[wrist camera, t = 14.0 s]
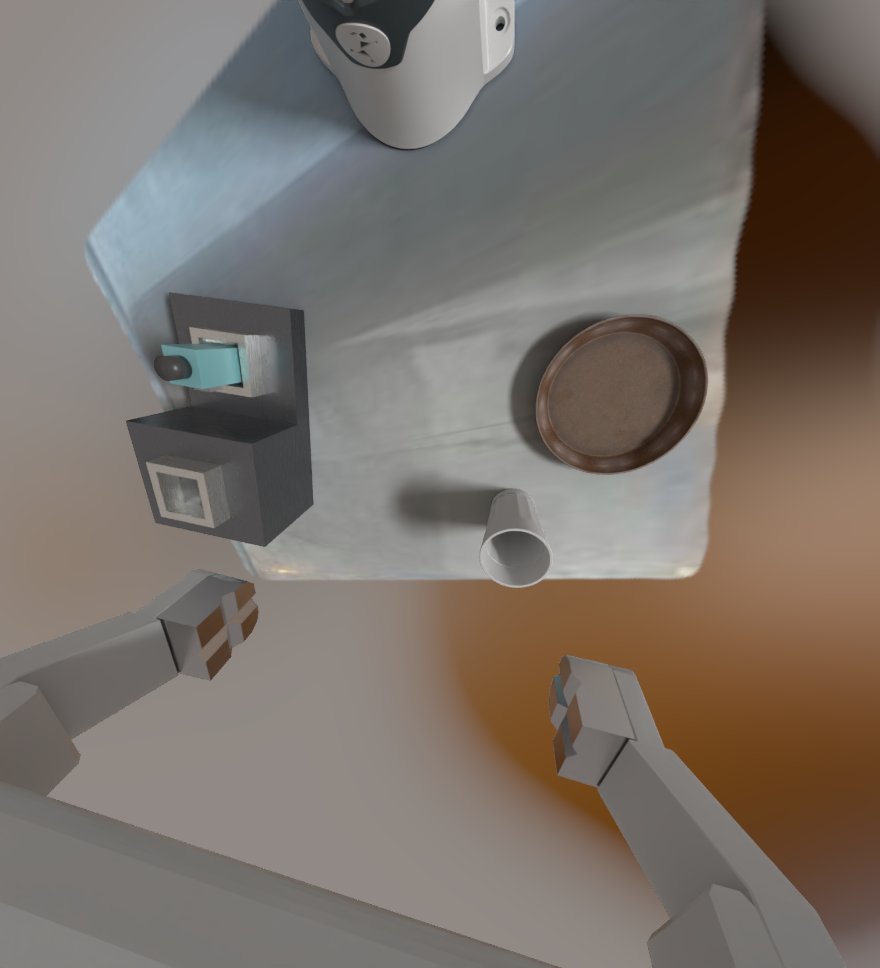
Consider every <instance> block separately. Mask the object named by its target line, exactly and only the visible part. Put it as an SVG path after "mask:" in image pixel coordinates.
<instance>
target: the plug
mask: <svg viewBox="0 0 880 968" xmlns="http://www.w3.org/2000/svg"><path fill="white" fill-rule="evenodd" d="M161 346H162V351H163V355H164V356H159V357H157V358H156V359H155V361H154V367H155V370H156V372H157V374H158V375H159V376H160V377H161V378H162V379H164V380H166V381H169V382H170V384H176V385H182V386H187V387H193V388H194V390H200V391H206V392H214V391H219V390H223V386H222V385H228V384H234V383H239V382H243V380H242V372H241V364H240V357H239V349H238V346H235V345H229V344H222V343H205V344H165V345H161Z"/></svg>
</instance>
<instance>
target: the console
mask: <svg viewBox="0 0 880 968" xmlns="http://www.w3.org/2000/svg"><path fill="white" fill-rule="evenodd" d="M169 296H170V301H171V306H172V311H173V316H174V321H175V326H176V331H177V336H178V341H179V344H205V343H222V344H229V345H235V346H238V349H239V357H240V364H241V372H242V380H243V382H239V383H234V384H228V385H222V386H223V390H219V391H214V392H206V391H200V390H194V388H193V387H188V391H189V396H190V400H191V405H192V406H190V407H186V408H181V409H177V410H172V411H168V412H163V413H159V414H154V415H150V416H146V417H141V418H137V419H132V420H128V421H126V423H127V426H128V430H129V434H130V436H131V440H132V444H133V447H134V451H135V454H136V458H137V461H138V464H139V468H140V471H141V475H142V478H143V481H144V485H145V488H146V492H147V495H148V499H149V502H150V505H151V509H152V512H153V516H154V519H155V523H159V524H163V525H168V526H173V527H177V528H182V529H186V530H191V531H196V532H200V533H204V534H209V535H213V536H218V537H222V538H227V539H231V540H236V541H241V542H245V543H250V544H254V545H259V546H263V547H265V546H267V545H268V544H269V543H270V542H271V541H272V540H273V539H275V538H276V537H277V536H278V535H279V534H280V533H281V532H282V531H284V530H285V529H286V528H287V527H288V526H289V525H290V524H292V523H293V522H294V521H295V520H296V519H297V518H298V517H299V516H301V515H302V514H303V513H304V512H305V511H306V510H307V509H309V508H310V507H311V506H312V505H313V489H312V469H311V449H310V428H309V408H308V388H307V368H306V347H305V327H304V311H303V310H296V309H288V308H281V307H273V306H266V305H259V304H251V303H244V302H236V301H229V300H222V299H214V298H207V297H199V296H192V295H184V294H177V293H169Z"/></svg>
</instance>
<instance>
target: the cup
mask: <svg viewBox="0 0 880 968" xmlns="http://www.w3.org/2000/svg"><path fill="white" fill-rule="evenodd" d="M552 563H553V555H552V551H551V548H550V546H549V543H548V541H547V538H546V535H545V533H544V531H543V529H542V526H541V523H540V521H539V518H538V515H537V512H536V507H535V503H534V500H533V499H532V497H531V496H530V495H529V494H528V493H526V492H524V491H522V490H519V489H507V490H504V491H502V492H500V493H498V494H497V495H496V496H495V497H494V499H493V500H492V503H491V509H490V515H489V519H488V523H487V527H486V532H485V535H484V539H483V542H482V546H481V550H480V564H481V566H482V569H483V570H484V572H485V573H486V574H487V575H488V576H489V577H490V578H491V579H492V580H494V581H495V582H497V583H499V584H502V585H504V586H508V587H527V586H531V585H534V584H536V583H538V582H539V581H541V580H542V579H543V578H545V577H546V575H547V574H548V573H549V571H550V569H551V567H552Z"/></svg>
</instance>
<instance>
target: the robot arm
mask: <svg viewBox="0 0 880 968" xmlns="http://www.w3.org/2000/svg"><path fill="white" fill-rule="evenodd" d="M298 2H299V4H300V6H301V8H302V10H303V12H304V14H305V16H306V18H307V20H308V22H309V24H310V26H311V28H310V37H311V42H312V45H313V47H314V49H315V51H316V53H317V55H318V57H319V58H320V60H321V61H322V62H323V63H324V65H325V66H326V67H327V68H328V69H329V70H330V71H331V72H332V73H333V74H334V75H335V76H336V77H337V78H338V80H339V82H340V84H341V86H342V88H343V90H344V92H345V95H346V97H347V99H348V102H349V104H350V106H351V108H352V110H353V112H354V113H355V115H356V116H357V118H358V119H359V121H360V122H361V123H362V125H363V126H364V127H365V128H366V129H367V130H368V131H369V132H370V133H371V134H372V135H373V136H374V137H376V138H377V139H378V140H380V141H382V142H383V143H385V144H388V145H390V146H393V147H397V148H402V149H415V148H421V147H424V146H427V145H430V144H432V143H434V142H436V141H438V140H439V139H441V138H442V137H444V136H445V135H446V134H447V133H449V132H450V131H451V130H452V129H453V128H454V127H455V126H456V125H457V124H458V122H459V121H460V120H461V119H462V117H463V116H464V115H465V113H466V112H467V110H468V109H469V107H470V105H471V104H472V102H473V100H474V99H475V97H476V95H477V94H478V93H479V91H480V90H481V88H482V87H483V86H484V85H485V84H486V83H488V82H489V81H490V80H492V79H493V78H494V77H495V76H497V75H498V74H499V73H500V72H501V71H503V69H504V68H505V67H506V66H507V65H508V64H509V62H510V61H511V59H512V56H513V53H514V47H515V0H298ZM500 23H502V24H504V28H503V30H501V31H497V30H496V27H497V25H498V24H500ZM255 593H256V592H255V588H254V584H253V583H251V582H247V581H244V580H240V579H236V578H233V577H229V576H225V575H221V574H217V573H213V572H209V571H205V570H201V569H198V570H195V571H191V572H190V573H189V574H187V575H186V576H185V577H183V578H182V579H181V580H179V581H178V582H176V583H175V584H174V585H173V586H171V587H170V588H168V589H167V590H166V591H164V592H163V593H162V594H160V595H159V596H158V597H156V598H155V599H154V600H152V601H151V602H150V603H148V604H147V605H146V606H144V607H143V608H142V609H140V610H139V611H137V612H136V613H132V612H128V613H125V614H123V615H120V616H117V617H114V618H111V619H109V620H106V621H103V622H100V623H97V624H95V625H92V626H89V627H86V628H84V629H81V630H78V631H75V632H72V633H70V634H67V635H64V636H62V637H58V638H56V639H53V640H50V641H47V642H44V643H42V644H39V645H36V646H33V647H31V648H28V649H25V650H23V651H20V652H17V653H14V654H11V655H8V656H5V657H3V658H0V968H561V967H558V966H554V965H552V964H549V963H546V962H542V961H539V960H537V959H534V958H531V957H528V956H525V955H521V954H519V953H516V952H513V951H509V950H506V949H504V948H500V947H497V946H495V945H492V944H488V943H486V942H483V941H479V940H476V939H474V938H471V937H468V936H464V935H462V934H459V933H456V932H453V931H449V930H446V929H443V928H441V927H438V926H435V925H432V924H429V923H426V922H422V921H420V920H416V919H413V918H411V917H407V916H404V915H401V914H398V913H395V912H393V911H390V910H387V909H384V908H380V907H377V906H375V905H372V904H369V903H366V902H363V901H360V900H357V899H354V898H350V897H347V896H344V895H341V894H338V893H335V892H332V891H329V890H326V889H323V888H320V887H317V886H314V885H311V884H308V883H305V882H302V881H299V880H296V879H293V878H290V877H287V876H284V875H281V874H278V873H275V872H272V871H269V870H266V869H263V868H260V867H257V866H254V865H251V864H248V863H245V862H242V861H239V860H236V859H233V858H230V857H227V856H224V855H221V854H218V853H215V852H212V851H209V850H206V849H203V848H200V847H197V846H194V845H191V844H188V843H185V842H182V841H179V840H176V839H173V838H170V837H167V836H164V835H161V834H158V833H155V832H152V831H149V830H146V829H143V828H140V827H137V826H134V825H131V824H128V823H125V822H122V821H119V820H116V819H113V818H110V817H107V816H104V815H101V814H98V813H95V812H92V811H89V810H86V809H83V808H80V807H77V806H74V805H71V804H68V803H65V802H62V801H59V800H56V799H53V798H50V797H47V795H48V794H49V793H50V792H51V791H52V790H53V789H54V788H55V787H56V786H57V785H58V784H59V783H60V781H62V779H64V778H65V777H66V775H67V774H68V773H69V772H70V771H71V770H72V769H73V768H74V767H75V766H76V765H77V764H78V763H79V760H80V756H81V755H80V753H79V752H78V750H77V749H76V747H75V745H74V744H73V742H72V739H73V738H75V737H76V736H78V735H80V734H82V733H83V732H85V731H86V730H88V729H90V728H91V727H93V726H95V725H97V724H98V723H100V722H102V721H103V720H105V719H106V718H108V717H110V716H112V715H113V714H115V713H117V712H118V711H120V710H121V709H123V708H125V707H126V706H128V705H130V704H131V703H133V702H135V701H136V700H138V699H140V698H141V697H143V696H145V695H146V694H148V693H150V692H151V691H153V690H155V689H156V688H158V687H159V686H161V685H163V684H165V683H166V682H168V681H170V680H171V679H173V678H175V677H176V676H178V673H180V674H184V675H188V676H193V677H197V678H201V679H205V680H209V681H210V680H212V679H213V677H214V676H215V675H216V674H217V673H218V672H219V670H220V669H221V668H222V667H223V666H224V665H225V663H226V662H227V661H228V660H229V658H231V654H232V648H233V647H235V646H237V645H239V644H241V643H242V642H244V641H245V640H246V639H247V637H248V636H249V635H250V634H251V633H252V630H253V629H254V627H255V624H256V622H257V619H258V606H257V604H256V603H255V602H254V601H253V599H252V597H253V596H254V594H255ZM559 669H560V674H559V675H557V676H555V677H554V678H553V681H552V683H551V686H550V693H549V713H550V720H551V721H552V723H553V725H554V726H555V727H556V729H557V733H556V735H555V737H554V740H553V746H554V754H555V761H556V769H557V775H559V776H562V777H565V778H568V779H572V780H575V781H578V782H581V783H585V784H588V785H592V786H595V787H598V789H597V791H598V792H599V794H600V795H601V798H602V799H603V801H604V803H605V805H606V806H607V808H608V810H609V812H610V813H611V815H612V817H613V818H614V820H615V822H616V824H617V826H618V827H619V829H620V831H621V833H622V834H623V836H624V838H625V839H626V841H627V843H628V845H629V847H630V848H631V850H632V852H633V854H634V855H635V857H636V859H637V861H638V862H639V864H640V866H641V868H642V869H643V871H644V873H645V875H646V876H647V878H648V880H649V882H650V883H651V885H652V887H653V889H654V891H655V892H656V894H657V896H658V898H659V899H660V901H661V903H662V905H663V906H664V908H665V910H666V912H667V913H668V915H669V917H670V920H668V921H667V922H666V923H665V924H663V925H662V926H661V927H660V928H659V929H657V930H656V931H655V932H654V933H652V935H651V937H650V938H649V940H648V941H647V945H648V950H649V954H650V958H651V963H652V967H653V968H847V967H846V965H845V963H844V961H843V959H842V958H841V956H840V954H839V952H838V950H837V948H836V947H835V945H834V943H833V941H832V939H831V937H830V936H829V934H828V932H827V930H826V928H825V926H824V925H823V923H822V921H821V920H820V917H819V915H818V914H817V912H816V911H815V909H814V908H813V907H812V906H811V905H810V904H809V903H808V902H807V900H806V899H805V898H804V897H803V896H802V895H801V894H800V893H799V892H798V891H797V889H796V888H795V887H794V886H793V885H792V884H791V883H790V881H789V880H788V879H787V878H786V877H785V876H784V875H783V874H782V873H781V871H780V870H779V869H778V868H777V867H776V866H775V865H774V864H773V862H772V861H771V860H770V859H769V858H768V857H767V856H766V855H765V854H764V852H762V850H761V849H760V848H759V847H758V846H757V845H756V844H755V842H754V841H753V840H752V839H751V838H750V837H749V836H748V835H747V833H746V832H745V831H744V830H743V829H742V828H741V827H740V826H739V824H738V823H737V822H736V821H735V820H734V819H733V818H732V817H731V815H730V814H729V813H728V812H727V811H726V810H725V809H724V808H723V807H722V805H721V804H720V803H719V802H718V801H717V800H716V799H715V798H714V797H713V795H712V794H711V793H710V792H709V791H708V790H707V789H706V788H705V786H704V785H703V784H702V783H701V782H700V781H699V780H698V779H697V778H696V777H695V775H694V774H693V773H692V772H691V771H690V770H689V769H688V767H686V765H685V764H684V763H683V762H682V761H681V760H680V758H679V757H678V756H677V755H676V754H675V753H674V752H673V751H672V750H669V749H665V748H664V745H663V743H662V740H661V738H660V735H659V733H658V730H657V728H656V725H655V723H654V720H653V718H652V716H651V713H650V710H649V708H648V705H647V703H646V700H645V698H644V695H643V693H642V690H641V688H640V685H639V683H638V680H637V678H636V675H635V674H634V673H633V672H632V670H629V669H624V668H620V667H615V666H611V665H606V664H604V663H599V662H595V661H590V660H586V659H581V658H576V657H572V656H567V655H564V656H563V657H562V659H561V661H560V663H559Z"/></svg>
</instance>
